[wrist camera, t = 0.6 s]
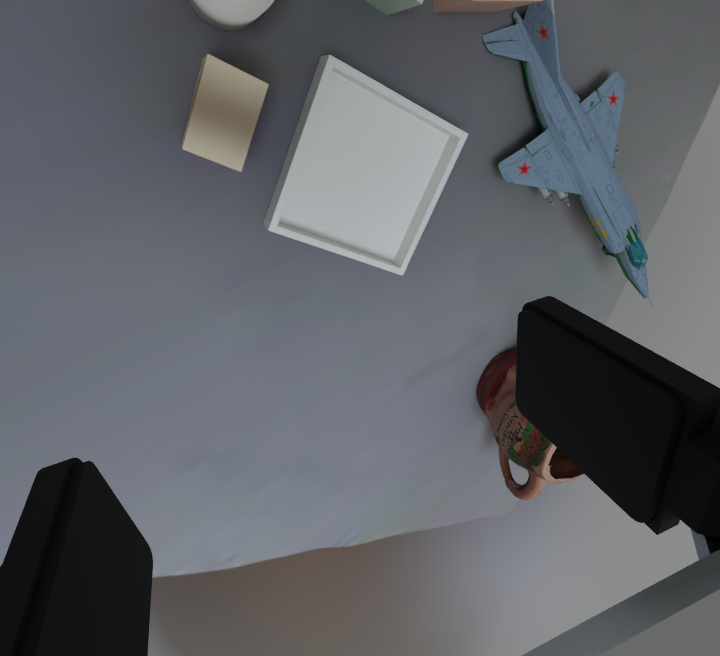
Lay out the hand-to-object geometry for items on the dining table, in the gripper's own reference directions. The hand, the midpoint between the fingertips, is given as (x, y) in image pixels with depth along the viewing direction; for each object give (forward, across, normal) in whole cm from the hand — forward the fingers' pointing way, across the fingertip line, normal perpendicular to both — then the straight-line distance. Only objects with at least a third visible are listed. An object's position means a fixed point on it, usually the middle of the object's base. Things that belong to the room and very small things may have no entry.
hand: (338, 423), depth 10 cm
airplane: (+33, -34, +5) cm, 48 cm away
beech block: (+32, -1, -5) cm, 33 cm away
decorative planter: (+33, -28, +34) cm, 55 cm away
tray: (+32, -12, +2) cm, 35 cm away
